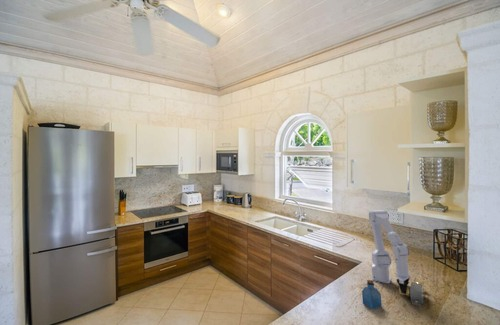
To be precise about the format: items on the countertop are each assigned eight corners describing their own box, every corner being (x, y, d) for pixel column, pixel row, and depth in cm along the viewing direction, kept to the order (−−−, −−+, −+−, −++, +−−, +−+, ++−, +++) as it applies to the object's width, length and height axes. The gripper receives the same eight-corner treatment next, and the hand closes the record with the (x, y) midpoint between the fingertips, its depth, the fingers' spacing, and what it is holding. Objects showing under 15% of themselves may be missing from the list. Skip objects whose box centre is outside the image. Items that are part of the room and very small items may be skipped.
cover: (413, 291, 135) (413, 283, 135) (414, 287, 139) (413, 279, 139) (425, 293, 132) (424, 285, 132) (425, 289, 136) (424, 282, 136)
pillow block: (410, 304, 122) (409, 291, 122) (412, 291, 135) (411, 279, 135) (422, 307, 119) (421, 293, 119) (423, 293, 132) (422, 281, 132)
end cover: (399, 295, 130) (398, 285, 130) (400, 291, 134) (399, 282, 134) (419, 300, 124) (418, 290, 125) (419, 295, 128) (418, 286, 129)
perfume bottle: (362, 303, 125) (361, 280, 126) (371, 300, 127) (369, 277, 128) (372, 309, 119) (370, 285, 120) (381, 306, 121) (379, 282, 122)
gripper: (409, 273, 123) (411, 299, 122) (411, 263, 135) (413, 288, 134) (393, 270, 128) (396, 296, 127) (397, 261, 139) (399, 285, 138)
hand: (404, 291), depth 131 cm, fingers closed on end cover, 3 cm apart
